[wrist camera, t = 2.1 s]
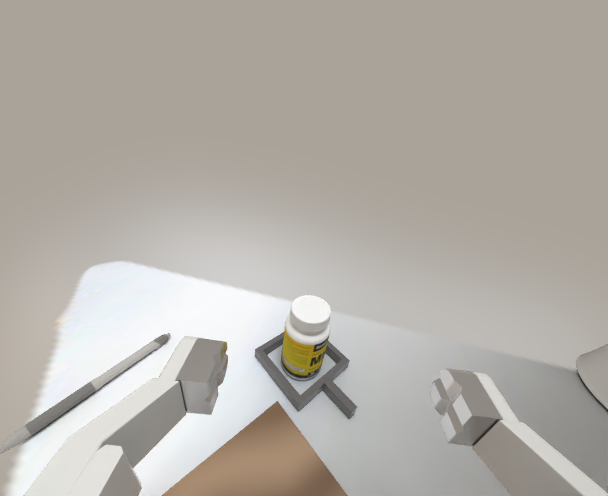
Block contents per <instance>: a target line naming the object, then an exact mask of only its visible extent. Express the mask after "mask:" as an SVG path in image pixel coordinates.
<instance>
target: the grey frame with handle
mask: <svg viewBox="0 0 608 496" xmlns="http://www.w3.org/2000/svg"><path fill="white" fill-rule="evenodd" d="M283 340H284V332H283V333H282V334H280V335H278V336H277V337H275V338H273V339H272V340H270V341H268V342H267V343H265V344H263V345H262V346H260V347H258V348H257V349H255V357H256V358H257V359H258V360H259V362H260V363H261V364H262V366H263V367H264V368H265V369H266V371H267V372H268V373H269V375H270V376H271V377H272V378H273V380H274V381H275V382H276V384H277V385H278V386H279V387H280V389H281V390H282V391H283V393H284V394H285V395H286V396H287V398H288V399H289V400H290V402H291V403H292V404H293V405H294V407H295V408H296V409H297V411H300V410H301V409H302V408H303V407H304V406H305V405H306V404H307V403H308V402H309V401H311V400H312V399H313V398H314V397H315V396H316V395H317V394H318V393H319V392H320V391H322V390H323V391H324V392H325V393H326V394H327V395H328V396H329V397H330V398H331V400H332V401H333V402H334V403H335V404H336V405H337V406H338V407H339V408H340V409H341V411H342V412H343V413H344V414H345V415H346V416H347V417H348V418H349V419H350V418H351V416H352V415H353V414H354V413H355V410H356V408H357V406H356V405H355V404H354V403H353V402H352V401H351V400H350V399H349V398H348V397H347V396H346V395H345V394H344V393H343V392H342V391H341V390H340V389H339V388H338V387H337V386H336V384H335V383H334V382H333V380H334V379H335V378H336V377H337V376H338V375H339V374H340V373H341V372H342V371H344V370H345V369H346V368H347V367H348V364H349V361H350V360H348V359H347V358H346V357H345V356H344V355H343V354H342V353H341V352H340V351H339V350H337V349H336V348H335V347H334V346H333V345H332V344H331V343H330V342H329V341H328V342H327V346H326V350H325V352H326V353H327V354H328V355H329V356H330V357H331V358H332V359H333V360H334V361H335V362H336V363H337V364H336V365H335V366H334V367H333V368H332V369H331V370H329V371H328V372H327V373H326V374H325V375H324V376H323V377H321V378H320V379H319V380H318V381H317V382H316V383H314V384H313V385H312V386H311V387H310V388H309V389H307V390H306V391H305V392H304V393H303V394H302V395H299V394H298V392H297V391H296V390H295V389H294V388H293V386H292V385H291V384H290V383H289V381H288V380H287V379H286V378H285V377H284V375H283V374H282V373H281V372H280V370H279V369H278V368H277V367H276V366H275V364H274V363H273V362H272V361H271V360H270V358H269V357H268V356H267V354H268V353H270V352H271V351H273V350H274V349H276V348H277V347H279V346H281V345H282V344H283Z"/></svg>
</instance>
